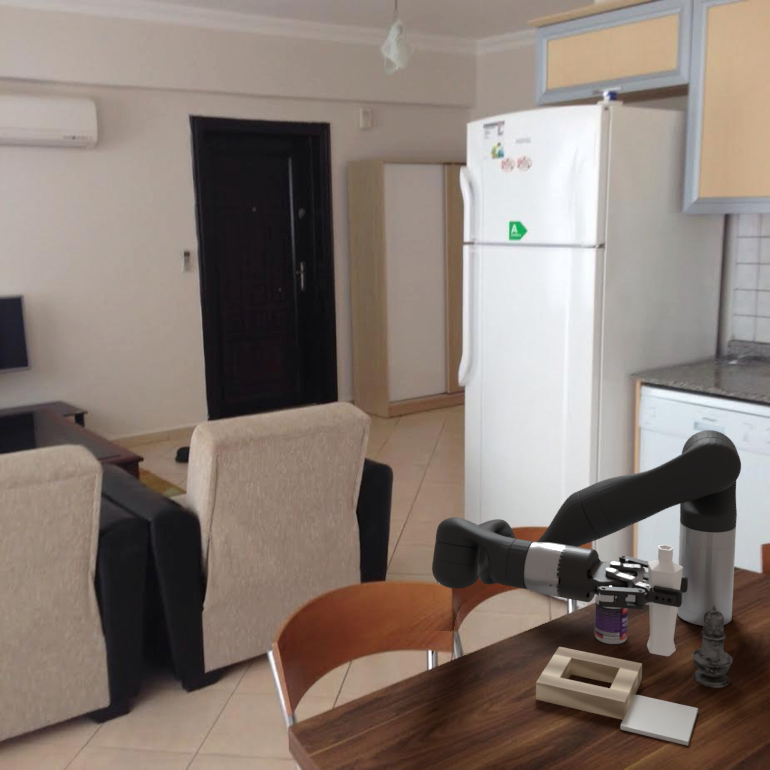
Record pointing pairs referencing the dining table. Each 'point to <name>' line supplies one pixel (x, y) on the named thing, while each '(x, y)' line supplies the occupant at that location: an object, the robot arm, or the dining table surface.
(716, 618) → the black chess piece
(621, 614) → the pill bottle
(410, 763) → the dining table surface
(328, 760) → the dining table surface
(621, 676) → the frame
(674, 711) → the coaster
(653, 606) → the white vase
